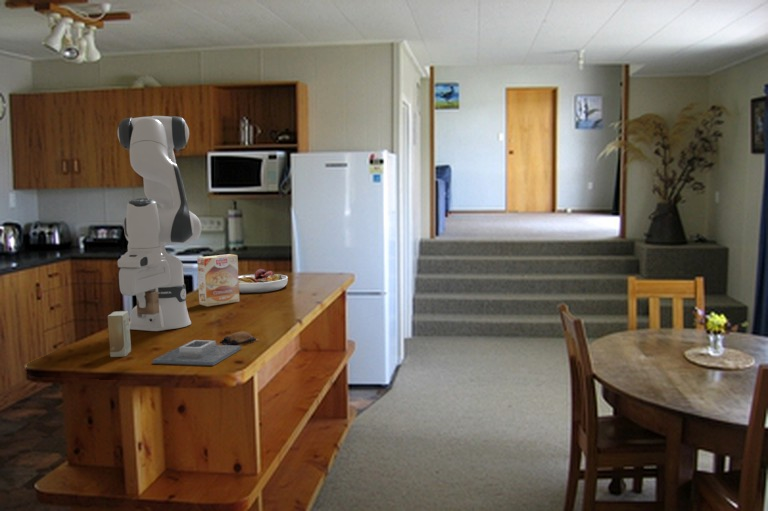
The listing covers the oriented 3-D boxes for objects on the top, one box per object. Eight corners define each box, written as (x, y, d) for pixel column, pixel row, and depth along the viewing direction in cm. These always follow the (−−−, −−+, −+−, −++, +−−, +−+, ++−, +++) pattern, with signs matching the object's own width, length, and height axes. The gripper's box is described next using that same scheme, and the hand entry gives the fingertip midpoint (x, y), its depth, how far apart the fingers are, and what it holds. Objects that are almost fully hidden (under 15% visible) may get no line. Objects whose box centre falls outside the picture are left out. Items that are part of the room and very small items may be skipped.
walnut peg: (137, 314, 189) (136, 293, 188) (143, 311, 192) (142, 291, 191) (153, 314, 188) (152, 293, 187) (159, 312, 190) (158, 291, 190)
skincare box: (116, 352, 198) (113, 311, 196) (131, 351, 198) (129, 310, 197) (109, 357, 191) (106, 315, 190) (125, 357, 192) (122, 314, 190)
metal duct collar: (152, 363, 184) (151, 351, 184) (185, 347, 201) (184, 335, 201) (213, 365, 180) (212, 353, 180) (241, 349, 198) (240, 337, 197)
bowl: (282, 293, 296) (281, 276, 295) (214, 295, 297) (213, 277, 296) (292, 283, 326) (291, 267, 325) (231, 284, 326) (230, 268, 326)
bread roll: (247, 338, 214) (246, 327, 213) (261, 342, 207) (260, 331, 207) (216, 344, 207) (216, 332, 206) (230, 349, 200) (229, 336, 200)
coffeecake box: (206, 306, 268) (204, 258, 265) (198, 304, 273) (196, 256, 271) (240, 301, 277) (238, 254, 275) (231, 299, 283) (229, 253, 281)
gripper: (154, 252, 198) (157, 298, 200) (113, 261, 178) (116, 312, 180) (174, 252, 197) (176, 298, 199) (134, 262, 177) (137, 313, 179)
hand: (147, 305), depth 189 cm, fingers closed on walnut peg, 3 cm apart
